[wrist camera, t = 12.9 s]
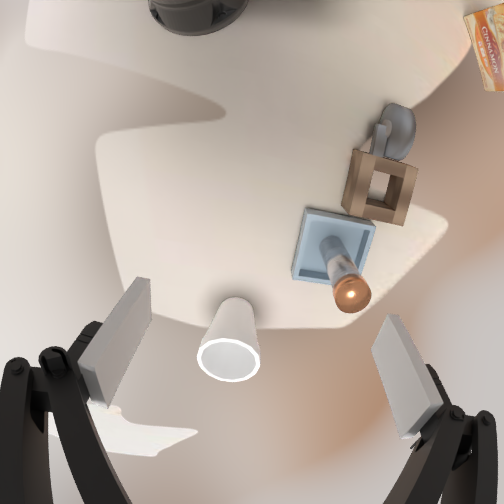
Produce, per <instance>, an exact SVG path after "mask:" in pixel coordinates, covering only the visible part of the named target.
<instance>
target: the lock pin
mask: <svg viewBox="0 0 504 504" xmlns="http://www.w3.org/2000/svg"><path fill="white" fill-rule="evenodd" d="M319 250H320V253H321V256H322V259H323V262H324V265H325V267H326V270H327V273H328V276H329V279H330V282H331V285H332V288H333V296H334V299H335V302H336V305H337V307H338V308H339V309H340V310H341V311H343V312H345V313H356V312H359V311H361V310H362V309H364V308H365V307H366V306H367V305H368V303H369V302H370V299H371V290H370V288H369V286H368V284H367V283H366V281H365V279H364V278H363V277H362V276H361V275H360V273H359V271H358V269H357V267H356V265H355V264H354V262H353V260H352V258H351V256H350V255H349V253H348V251H347V249H346V247H345V246H344V244H343V242H342V240H341V239H340V238H339V237H337V236H328V237H326V238H324V239H323V240H322V241H321V243H320V246H319Z"/></svg>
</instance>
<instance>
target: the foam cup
mask: <svg viewBox="0 0 504 504" xmlns="http://www.w3.org/2000/svg"><path fill="white" fill-rule="evenodd" d="M260 358H261V355H260V347H259V344H258V341H257V334H256V326H255V319H254V312H253V307H252V306H251V304H250V303H249V302H248V301H246V300H244V299H243V298H237V297H232V298H228V299H226V300H225V301H223V302H222V303H221V305H220V307H219V309H218V311H217V313H216V315H215V317H214V319H213V321H212V323H211V325H210V327H209V329H208V331H207V333H206V335H205V336H204V337H203V338H202V341H201V344H200V347H199V351H198V354H197V360H198V363H199V366H200V368H202V370H204V371H205V372H206V373H207V374H208V375H209V376H212V377H214V378H216V379H218V380H221V381H228V382H236V381H242V380H246V379H248V378H250V377H251V376H253V375H255V374H256V372H257V370H258V368H259V367H260Z"/></svg>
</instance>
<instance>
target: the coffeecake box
mask: <svg viewBox="0 0 504 504" xmlns="http://www.w3.org/2000/svg"><path fill="white" fill-rule="evenodd" d="M464 20H465V23H466V26H467V28H468V31H469V34H470V37H471V40H472V44H473V47H474V50H475V54H476V57H477V61H478V64H479V68H480V72H481V76H482V81H483V85H484V90H485V91H491V92H504V3H502V4H499V5H496V6H492V7H489V8H487V9H484V10H481V11H478V12H475V13H473V14H470V15H467V16H465V17H464Z"/></svg>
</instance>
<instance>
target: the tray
mask: <svg viewBox="0 0 504 504" xmlns="http://www.w3.org/2000/svg"><path fill="white" fill-rule="evenodd" d="M375 229H376V226H375V225H374V224H373V223H372V222H371V221H370V220H366V219H361V218H356V217H351V216H346V215H341V214H336V213H331V212H325V211H320V210H315V209H309V208H305V211H304V216H303V220H302V225H301V229H300V234H299V238H298V243H297V247H296V252H295V256H294V261H293V265H292V269H291V273H292V279H293V280H300V281H306V282H313V283H320V284H327V285H331V282H330V279H329V276H328V273H327V270H326V267H325V265H324V262H323V259H322V256H321V253H320V250H319V246H320V243H321V241H322V240H323V239H324V238H326V237H328V236H337V237H339V238H340V239H341V240H342V242H343V244H344V246H345V247H346V249H347V251H348V253H349V255H350V256H351V258H352V260H353V262H354V264H355V265H356V267H357V269H358V271H359V273H360V275H361V273H362V270H363V267H364V264H365V261H366V258H367V255H368V252H369V249H370V245H371V242H372V239H373V236H374V232H375Z"/></svg>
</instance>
